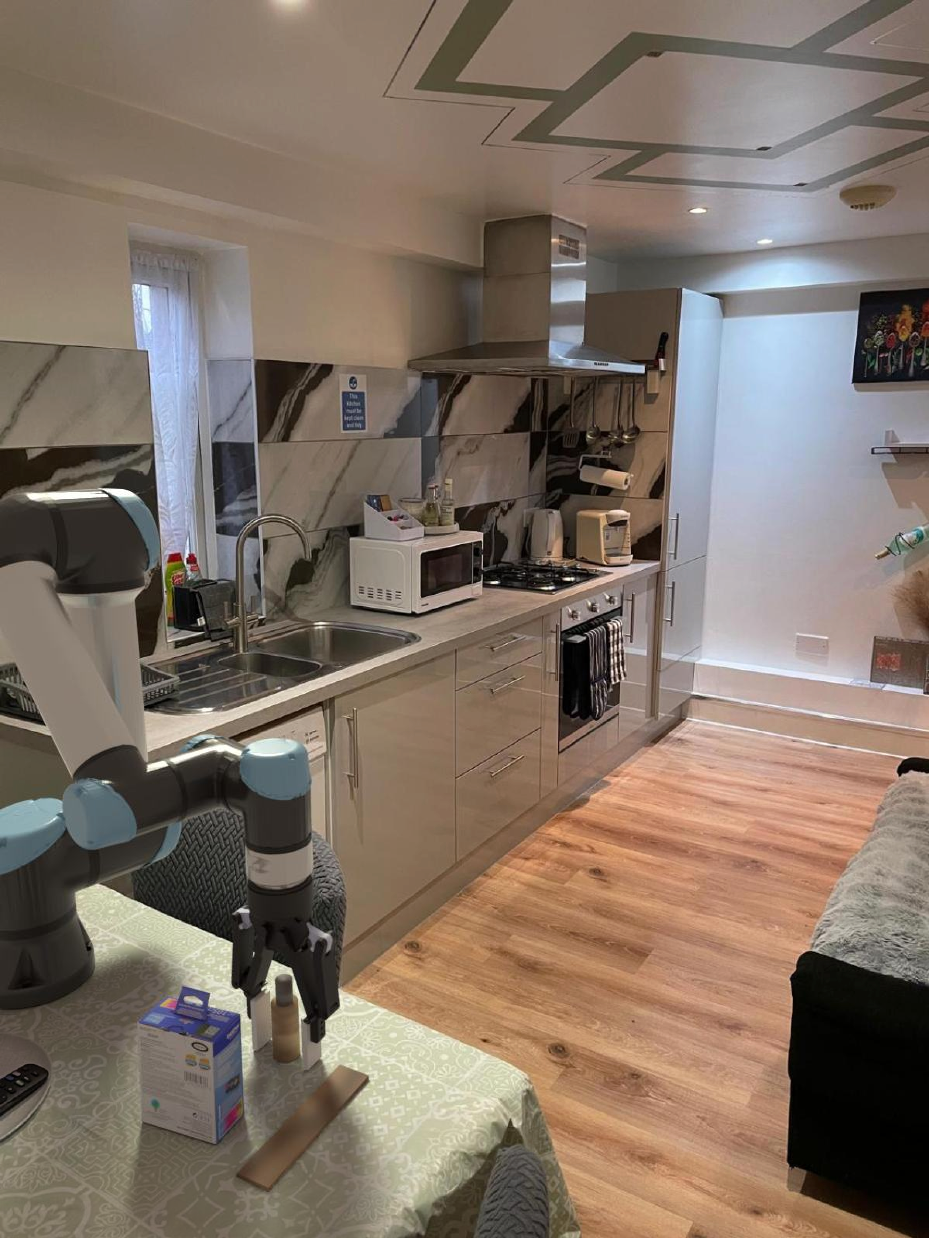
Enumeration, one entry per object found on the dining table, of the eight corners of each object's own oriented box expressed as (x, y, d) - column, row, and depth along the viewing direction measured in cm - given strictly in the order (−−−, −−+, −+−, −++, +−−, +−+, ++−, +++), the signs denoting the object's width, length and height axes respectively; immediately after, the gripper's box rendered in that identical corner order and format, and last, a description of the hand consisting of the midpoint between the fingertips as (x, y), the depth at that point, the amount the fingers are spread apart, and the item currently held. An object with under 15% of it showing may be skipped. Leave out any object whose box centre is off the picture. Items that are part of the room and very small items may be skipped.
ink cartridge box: (248, 1111, 101) (242, 992, 98) (218, 1147, 96) (211, 1023, 93) (172, 1089, 104) (164, 973, 101) (140, 1123, 99) (131, 1003, 96)
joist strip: (236, 1176, 92) (236, 1172, 92) (339, 1067, 108) (339, 1064, 108) (268, 1191, 91) (268, 1187, 91) (368, 1078, 106) (368, 1075, 106)
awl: (267, 1057, 110) (264, 982, 108) (284, 1041, 112) (281, 967, 110) (288, 1066, 108) (286, 989, 106) (305, 1050, 111) (303, 975, 109)
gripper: (191, 869, 107) (201, 1046, 111) (332, 910, 98) (337, 1099, 103) (234, 844, 113) (243, 1011, 118) (370, 879, 104) (373, 1059, 109)
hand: (286, 1052), depth 110 cm, fingers open, 7 cm apart
